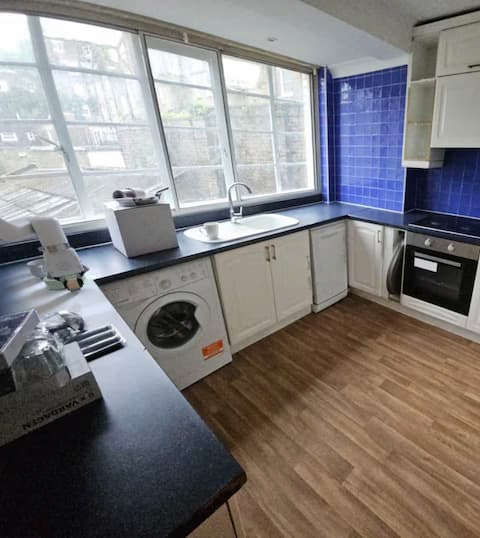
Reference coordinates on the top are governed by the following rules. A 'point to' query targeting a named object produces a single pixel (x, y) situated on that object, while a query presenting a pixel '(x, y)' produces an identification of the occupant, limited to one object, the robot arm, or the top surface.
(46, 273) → the teacup
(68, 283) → the eraser
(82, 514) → the top surface
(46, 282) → the bowl
